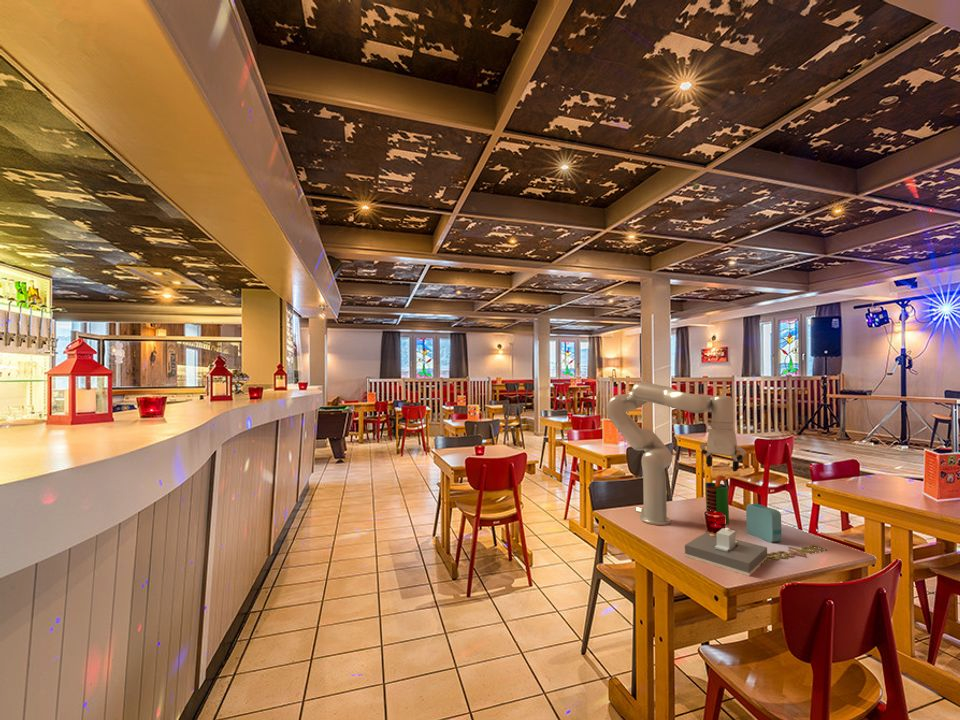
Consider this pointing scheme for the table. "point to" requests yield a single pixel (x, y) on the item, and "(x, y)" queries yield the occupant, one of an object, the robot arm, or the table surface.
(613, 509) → the table surface
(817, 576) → the table surface
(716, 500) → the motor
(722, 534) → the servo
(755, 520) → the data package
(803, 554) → the text sign
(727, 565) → the chassis
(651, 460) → the robot arm
